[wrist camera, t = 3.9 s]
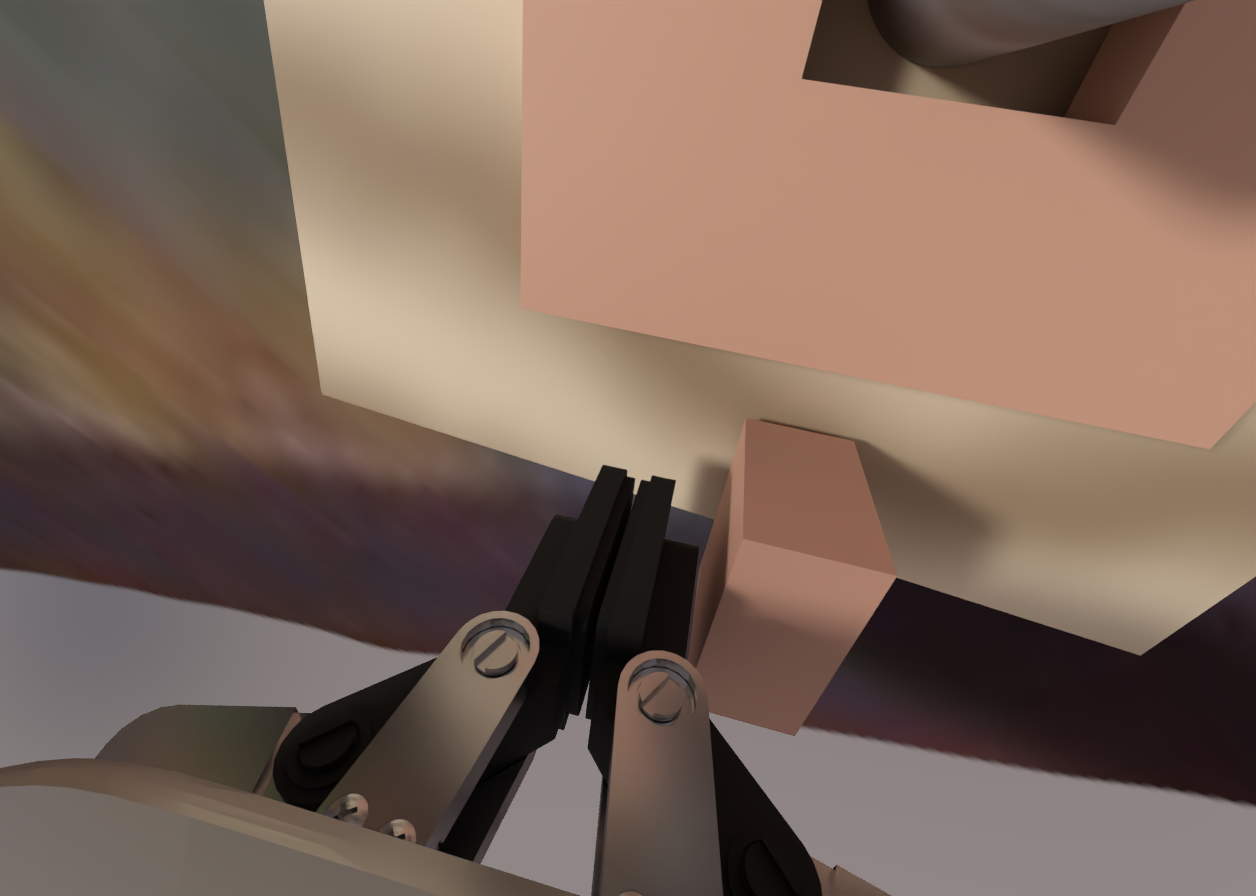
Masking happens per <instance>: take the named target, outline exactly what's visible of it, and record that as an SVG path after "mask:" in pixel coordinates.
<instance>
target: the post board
mask: <svg viewBox="0 0 1256 896" xmlns="http://www.w3.org/2000/svg"><path fill="white" fill-rule="evenodd" d="M1191 1H1195V0H822V3H821V7H820V11H819V14H818V18H817V22H816V26H815V30H814V33H813V37H812V41H811V45H810V49H809V52H808V56H807V60H806V64H805V68H804V71H803V75H802V79H805V80H812V81H819V82H826V83H832V84H839V85H846V86H853V87H860V88H866V89H873V90H880V91H887V92H894V93H900V94H907V95H914V96H921V97H928V98H934V99H941V100H948V101H955V102H962V103H968V104H975V105H982V106H989V107H996V108H1002V109H1009V110H1016V111H1023V112H1030V113H1036V114H1043V115H1050V116H1057V117H1065V115H1066V113H1067V111H1068V109H1069V107H1070V105H1071V103H1072V101H1073V99H1074V97H1075V95H1076V94H1077V92H1078V90H1079V88H1080V86H1081V84H1082V82H1083V80H1084V78H1085V76H1086V74H1087V72H1088V71H1089V69H1090V67H1091V65H1092V63H1093V61H1094V59H1095V57H1096V55H1097V53H1098V51H1099V49H1100V48H1101V46H1102V44H1103V42H1104V40H1105V38H1106V36H1107V34H1108V32H1109V30H1110V28H1111V26H1112V24H1114V23H1117V22H1121V21H1124V20H1128V19H1131V18H1135V17H1138V16H1142V15H1146V14H1149V13H1153V12H1156V11H1160V10H1163V9H1167V8H1170V7H1174V6H1177V5H1181V4H1184V3H1188V2H1191ZM264 5H265V12H266V18H267V25H268V32H269V39H270V46H271V52H272V59H273V66H274V73H275V80H276V86H277V93H278V100H279V107H280V113H281V120H282V127H283V134H284V141H285V147H286V154H287V161H288V168H289V175H290V181H291V188H292V195H293V202H294V208H295V215H296V222H297V229H298V236H299V242H300V249H301V256H302V263H303V269H304V276H305V283H306V290H307V297H308V303H309V310H310V317H311V324H312V331H313V337H314V344H315V351H316V358H317V364H318V371H319V378H320V385H321V392H322V394H323V395H326V396H329V397H332V398H335V399H339V400H342V401H345V402H348V403H351V404H354V405H357V406H360V407H364V408H367V409H370V410H373V411H376V412H379V413H382V414H386V415H389V416H392V417H395V418H398V419H401V420H404V421H407V422H411V423H414V424H417V425H420V426H423V427H426V428H429V429H433V430H436V431H439V432H442V433H445V434H448V435H451V436H454V437H458V438H461V439H464V440H467V441H470V442H473V443H476V444H479V445H483V446H486V447H489V448H492V449H495V450H498V451H501V452H505V453H508V454H511V455H514V456H517V457H520V458H523V459H526V460H530V461H533V462H536V463H539V464H542V465H545V466H548V467H552V468H555V469H558V470H561V471H564V472H567V473H570V474H573V475H577V476H580V477H583V478H586V479H589V480H592V481H596V478H597V476H598V474H599V472H600V469H601V467H602V466H603V465H607V466H612V467H617V468H621V469H626V470H627V476H628V477H632V478H635V485H634V492H633V494H637V491H638V488H639V485H640V482H641V480H646V481H650V480H651V477H652V475H654V476H658V477H663V478H668V479H672V480H676V483H675V488H674V493H673V498H672V503H671V506H674V507H677V508H680V509H683V510H686V511H689V512H692V513H696V514H699V515H702V516H705V517H708V518H711V519H715V516H716V513H717V510H718V506H719V503H720V500H721V497H722V493H723V490H724V487H725V484H726V480H727V477H728V474H729V471H730V467H731V464H732V461H733V458H734V454H735V451H736V448H737V445H738V441H739V438H740V435H741V432H742V428H743V425H744V422H745V419H746V418H749V419H754V420H758V421H763V422H768V423H772V424H777V425H781V426H786V427H791V428H795V429H800V430H804V431H809V432H814V433H818V434H823V435H827V436H832V437H837V438H841V439H846V440H851V441H854V443H855V446H856V449H857V452H858V455H859V458H860V462H861V465H862V468H863V471H864V474H865V477H866V480H867V483H868V486H869V490H870V493H871V496H872V499H873V502H874V505H875V508H876V511H877V514H878V518H879V521H880V524H881V527H882V530H883V533H884V536H885V539H886V543H887V546H888V549H889V552H890V555H891V558H892V561H893V564H894V567H895V571H896V574H897V577H896V578H899V579H902V580H905V581H909V582H912V583H915V584H918V585H921V586H924V587H927V588H930V589H934V590H937V591H940V592H943V593H946V594H949V595H952V596H956V597H959V598H962V599H965V600H968V601H971V602H974V603H977V604H981V605H984V606H987V607H990V608H993V609H996V610H999V611H1003V612H1006V613H1009V614H1012V615H1015V616H1018V617H1021V618H1024V619H1028V620H1031V621H1034V622H1037V623H1040V624H1043V625H1046V626H1050V627H1053V628H1056V629H1059V630H1062V631H1065V632H1068V633H1071V634H1075V635H1078V636H1081V637H1084V638H1087V639H1090V640H1093V641H1096V642H1100V643H1103V644H1106V645H1109V646H1112V647H1115V648H1118V649H1122V650H1125V651H1128V652H1131V653H1134V654H1137V655H1140V656H1141V655H1142V654H1144V653H1145V652H1146V651H1148V650H1149V649H1151V648H1152V647H1154V646H1155V645H1157V644H1158V643H1159V642H1161V641H1162V640H1164V639H1165V638H1167V637H1168V636H1170V635H1171V634H1173V633H1174V632H1175V631H1177V630H1178V629H1180V628H1181V627H1183V626H1184V625H1186V624H1187V623H1189V622H1190V621H1191V620H1193V619H1194V618H1196V617H1197V616H1199V615H1200V614H1202V613H1203V612H1204V611H1206V610H1207V609H1209V608H1210V607H1212V606H1213V605H1215V604H1216V603H1218V602H1219V601H1220V600H1222V599H1223V598H1225V597H1226V596H1228V595H1229V594H1231V593H1232V592H1234V591H1235V590H1236V589H1238V588H1239V587H1241V586H1242V585H1244V584H1245V583H1247V582H1248V581H1249V580H1251V579H1252V578H1254V577H1255V576H1256V402H1255V403H1254V404H1253V405H1252V406H1251V407H1250V408H1249V409H1248V410H1247V411H1246V412H1245V413H1244V414H1243V415H1242V416H1241V418H1240V419H1239V420H1238V421H1237V422H1236V423H1235V424H1234V425H1233V426H1232V427H1231V428H1230V429H1229V430H1228V431H1227V432H1226V433H1225V434H1224V435H1223V436H1222V437H1221V438H1220V439H1219V440H1218V441H1217V443H1216V444H1215V445H1214V446H1213V447H1212V448H1211V449H1205V448H1200V447H1196V446H1191V445H1186V444H1181V443H1176V442H1171V441H1166V440H1161V439H1156V438H1152V437H1147V436H1142V435H1137V434H1132V433H1127V432H1122V431H1117V430H1112V429H1107V428H1103V427H1098V426H1093V425H1088V424H1083V423H1078V422H1073V421H1068V420H1063V419H1059V418H1054V417H1049V416H1044V415H1039V414H1034V413H1029V412H1024V411H1019V410H1014V409H1010V408H1005V407H1000V406H995V405H990V404H985V403H980V402H975V401H970V400H966V399H961V398H956V397H951V396H946V395H941V394H936V393H931V392H926V391H921V390H917V389H912V388H907V387H902V386H897V385H892V384H887V383H882V382H877V381H873V380H868V379H863V378H858V377H853V376H848V375H843V374H838V373H833V372H828V371H824V370H819V369H814V368H809V367H804V366H799V365H794V364H789V363H784V362H780V361H775V360H770V359H765V358H760V357H755V356H750V355H745V354H740V353H735V352H731V351H726V350H721V349H716V348H711V347H706V346H701V345H696V344H691V343H687V342H682V341H677V340H672V339H667V338H662V337H657V336H652V335H647V334H642V333H638V332H633V331H628V330H623V329H618V328H613V327H608V326H603V325H598V324H594V323H589V322H584V321H579V320H574V319H569V318H564V317H559V316H554V315H549V314H545V313H540V312H535V311H530V310H525V309H520V293H521V172H522V51H523V0H264Z"/></svg>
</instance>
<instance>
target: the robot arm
mask: <svg viewBox="0 0 1256 896" xmlns="http://www.w3.org/2000/svg"><path fill="white" fill-rule="evenodd" d="M675 483H676V480H672V479H668V478H663V477H658V476H654V475H652V477H651V480H650V481H646V480H641V482H640V485H639V488H638V491H637V494H636V497H635V501H634V504H633V507H632V510H631V506H632V499H633V492H634V485H635V478H632V477H628V476H627V470H626V469H621V468H617V467H612V466H607V465H603V466H602V467H601V469H600V472H599V474H598V476H597V478H596V481H595V483H594V485H593V487H592V490H591V492H590V494H589V496H588V499H587V501H586V503H585V505H584V507H583V510H582V512H581V514H580V516H579V519H574V518H570V517H566V516H561V515H556V516H554V518H553V519H552V521H551V523H550V525H549V527H548V529H547V531H546V532H545V534H544V536H543V538H542V540H541V542H540V544H539V546H538V548H537V550H536V552H535V554H534V556H533V558H532V560H531V562H530V564H529V566H528V568H527V570H526V571H525V573H524V575H523V577H522V579H521V581H520V583H519V585H518V587H517V589H516V591H515V593H514V595H513V597H512V599H511V601H510V603H509V605H508V607H507V608H506V610H505V611H492V612H489V613H485V614H482V615H479V616H477V617H476V618H474V619H472V620H470V621H468V622H467V623H466V624H465V625H464V626H463V627H462V628H461V629H460V630H459V631H458V632H457V634H456V635H455V636H454V637H453V639H452V640H451V641H450V643H449V644H448V645H447V646H446V648H445V649H444V650H443V651H442V653H441V654H440V655H439V656H438V657H437V658H435V659H432V660H430V661H428V662H425V663H423V664H421V665H418V666H416V667H414V668H412V669H409V670H407V671H405V672H402V673H400V674H397V675H395V676H393V677H390V678H388V679H386V680H384V681H381V682H379V683H376V684H374V685H372V686H370V687H367V688H365V689H363V690H360V691H358V692H356V693H353V694H351V695H349V696H346V697H344V698H342V699H339V700H337V701H335V702H332V703H330V704H328V705H325V706H323V707H321V708H320V709H318V710H316V711H314V712H312V713H299V712H298V711H297V708H296V707H257V706H213V705H211V706H210V705H175V706H168V707H161V708H159V709H156V710H154V711H151V712H149V713H146V714H144V715H141V716H140V717H138V718H137V719H135V720H134V721H132V722H131V723H129V724H128V725H126V726H125V727H123V728H122V729H121V730H120V731H119V732H118V733H117V734H116V735H115V736H114V737H113V738H112V739H111V740H110V741H109V742H108V743H107V744H106V745H105V746H104V748H103V749H102V750H101V751H100V753H99V754H98V755H97V756H96V758H95V759H81V758H74V759H73V758H71V759H59V760H46V761H36V762H30V763H25V764H20V765H14V766H8V767H3V768H0V896H579V895H576V894H573V893H570V892H567V891H563V890H560V889H557V888H554V887H551V886H547V885H544V884H541V883H538V882H535V881H531V880H529V879H525V878H522V877H519V876H516V875H513V874H510V873H506V872H503V871H500V870H497V869H494V868H491V867H487V866H484V865H481V862H482V860H483V858H484V856H485V854H486V852H487V850H488V848H489V846H490V844H491V842H492V840H493V838H494V836H495V834H496V832H497V830H498V828H499V826H500V824H501V822H502V820H503V818H504V816H505V814H506V813H507V811H508V809H509V807H510V805H511V803H512V801H513V799H514V797H515V795H516V793H517V791H518V788H519V787H520V785H521V783H522V781H523V779H524V777H525V775H526V773H527V771H528V769H529V767H530V765H531V763H532V761H533V759H534V756H535V753H536V750H537V749H538V748H540V747H541V746H543V745H545V744H547V743H548V742H550V741H552V740H553V739H555V737H556V734H557V731H558V729H561V730H564V728H565V725H566V722H567V718H568V715H569V713H570V714H573V715H577V716H578V715H579V713H580V711H581V707H582V704H583V701H584V697H585V694H586V690H587V687H588V684H589V692H588V701H587V710H586V718H587V719H590V720H591V726H590V734H589V742H588V750H589V751H590V753H591V755H592V757H593V759H594V761H595V763H596V765H597V766H598V768H599V770H600V772H601V774H602V782H601V793H600V794H601V795H600V804H599V816H598V826H597V837H596V848H595V859H594V871H593V881H592V892H591V896H891V895H889V894H887V893H886V892H884V891H882V890H880V889H879V888H877V887H875V886H873V885H871V884H869V883H868V882H866V881H864V880H863V879H861V878H859V877H857V876H855V875H854V874H852V873H850V872H848V871H847V870H845V869H843V868H841V867H840V866H838V865H836V866H835V867H834V868H833V869H832V868H830V867H828V866H826V865H825V864H823V863H821V862H819V861H818V860H816V859H814V858H812V857H811V856H810V855H809V854H808V852H807V850H806V848H805V847H804V845H803V844H802V842H801V841H800V840H799V838H798V837H797V836H796V834H795V833H794V832H793V830H792V829H791V828H790V826H789V825H788V823H787V822H786V821H785V820H784V818H783V817H782V815H781V814H780V813H779V811H778V810H777V809H776V807H775V806H774V805H773V803H772V802H771V801H770V799H769V798H768V797H767V795H766V794H765V793H764V791H763V790H762V789H761V787H760V786H759V785H758V783H757V782H756V781H755V779H754V778H753V777H752V775H751V774H750V773H749V771H748V770H747V769H746V767H745V766H744V764H743V763H742V762H741V760H740V759H739V758H738V756H737V755H736V754H735V752H734V751H733V750H732V748H731V747H730V746H729V744H728V743H727V742H726V740H725V739H724V738H723V736H722V735H721V734H720V732H719V731H718V730H717V728H716V727H715V726H714V724H713V723H712V722H711V720H710V719H709V709H708V696H707V692H706V688H705V683H704V681H703V679H702V678H701V676H700V674H699V672H698V671H697V670H696V669H695V668H694V667H693V666H692V665H691V664H690V663H689V662H688V661H687V660H686V659H685V655H686V647H687V639H688V631H689V623H690V615H691V607H692V599H693V591H694V583H695V575H696V567H697V559H698V550H699V549H698V547H697V546H693V545H688V544H684V543H679V542H675V541H671V540H666V539H664V537H665V532H666V527H667V523H668V518H669V513H670V508H671V503H672V498H673V493H674V488H675ZM589 680H590V683H589Z"/></svg>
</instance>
